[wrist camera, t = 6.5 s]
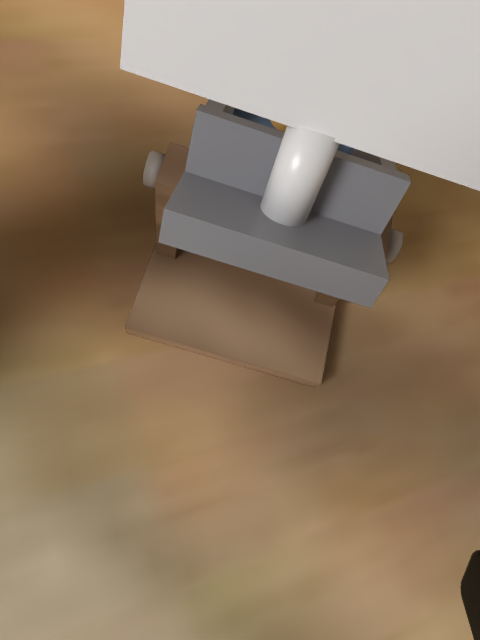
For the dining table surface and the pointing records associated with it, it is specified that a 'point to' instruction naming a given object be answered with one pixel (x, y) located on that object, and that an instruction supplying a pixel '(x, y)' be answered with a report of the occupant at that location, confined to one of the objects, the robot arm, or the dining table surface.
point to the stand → (231, 300)
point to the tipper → (310, 125)
